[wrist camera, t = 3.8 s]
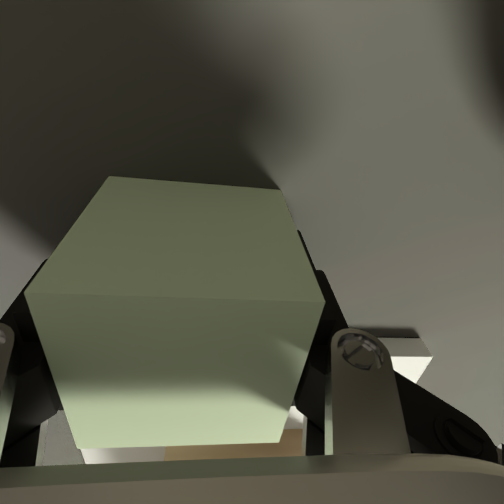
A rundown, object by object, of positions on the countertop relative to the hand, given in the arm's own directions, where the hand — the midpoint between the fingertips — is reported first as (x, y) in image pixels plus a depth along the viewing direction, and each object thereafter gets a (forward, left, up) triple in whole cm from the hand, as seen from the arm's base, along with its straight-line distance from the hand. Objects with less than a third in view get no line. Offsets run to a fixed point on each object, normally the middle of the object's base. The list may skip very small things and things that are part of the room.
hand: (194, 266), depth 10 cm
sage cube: (0, 0, -1) cm, 1 cm away
